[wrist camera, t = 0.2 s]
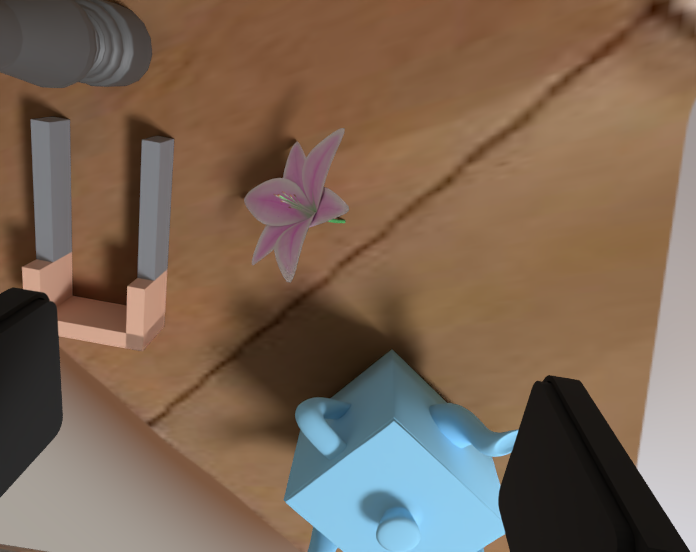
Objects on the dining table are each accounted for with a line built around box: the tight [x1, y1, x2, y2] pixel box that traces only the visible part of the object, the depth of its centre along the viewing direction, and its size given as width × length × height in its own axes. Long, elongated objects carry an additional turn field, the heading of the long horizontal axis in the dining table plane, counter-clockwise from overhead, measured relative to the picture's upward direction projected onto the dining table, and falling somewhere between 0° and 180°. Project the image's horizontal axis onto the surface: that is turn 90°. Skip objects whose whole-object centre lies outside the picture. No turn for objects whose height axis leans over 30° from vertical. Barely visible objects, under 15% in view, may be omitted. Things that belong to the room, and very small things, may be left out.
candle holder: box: [0, 0, 152, 88], centre depth 31 cm, size 6×6×25 cm
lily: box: [244, 128, 349, 282], centre depth 43 cm, size 12×12×10 cm
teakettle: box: [284, 349, 519, 552], centre depth 47 cm, size 19×19×15 cm
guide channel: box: [22, 117, 174, 351], centre depth 46 cm, size 18×10×5 cm, turn 170°
